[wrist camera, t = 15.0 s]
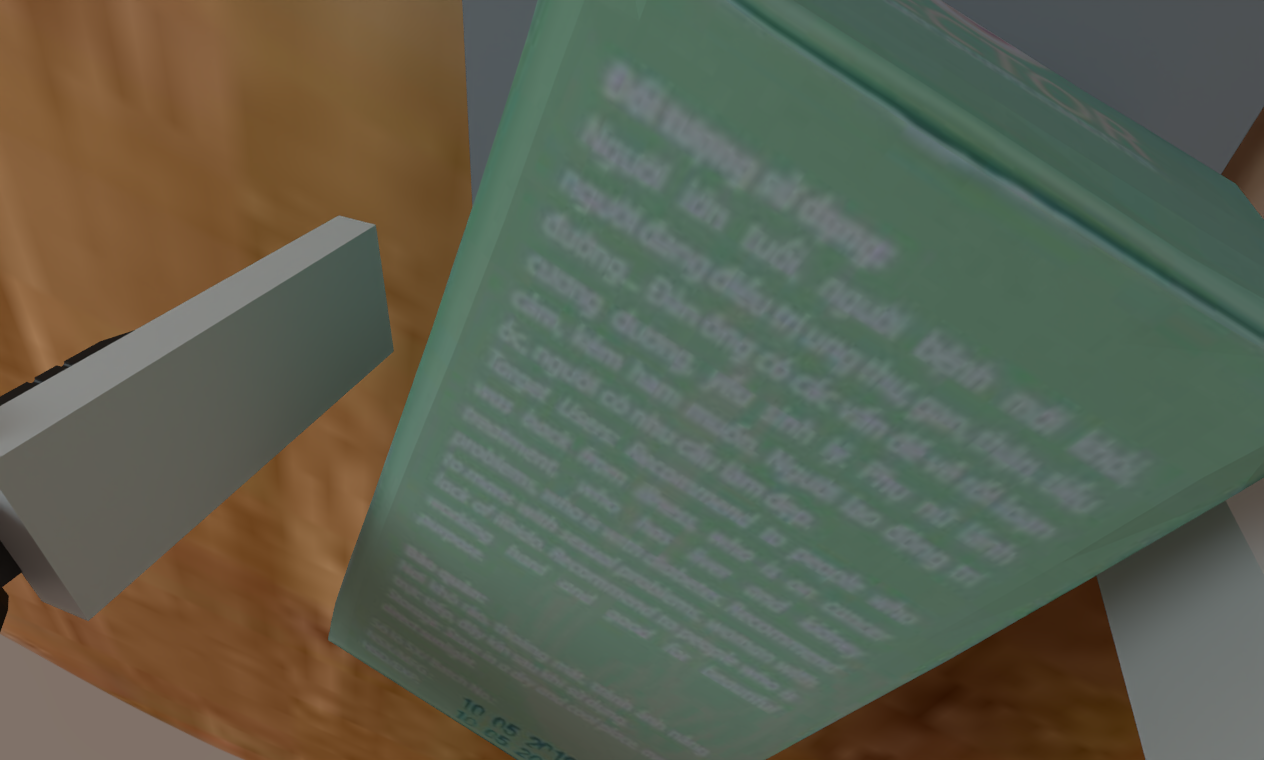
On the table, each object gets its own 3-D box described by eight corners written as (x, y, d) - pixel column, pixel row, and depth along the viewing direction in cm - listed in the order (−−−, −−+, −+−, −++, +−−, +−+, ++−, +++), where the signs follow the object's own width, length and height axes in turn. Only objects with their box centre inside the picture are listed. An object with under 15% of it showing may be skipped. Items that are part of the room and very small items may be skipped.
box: (1172, 122, 10) (1487, 414, 5) (725, 556, 19) (638, 846, 13) (759, -139, 10) (547, -179, 4) (498, 417, 19) (312, 648, 13)
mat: (479, -137, 12) (455, -139, 11) (1318, -30, 10) (1345, -25, 9) (497, 419, 20) (484, 435, 19) (959, 560, 17) (961, 584, 17)
